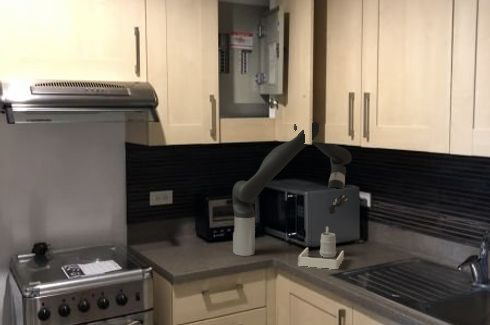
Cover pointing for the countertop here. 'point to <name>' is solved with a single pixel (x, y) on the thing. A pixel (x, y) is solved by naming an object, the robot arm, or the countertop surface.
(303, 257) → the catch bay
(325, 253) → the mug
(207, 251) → the countertop surface
